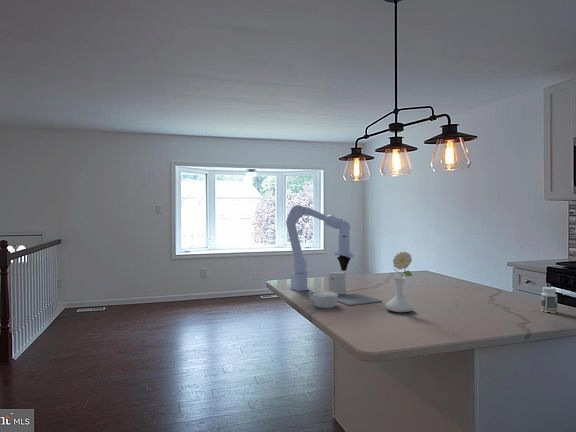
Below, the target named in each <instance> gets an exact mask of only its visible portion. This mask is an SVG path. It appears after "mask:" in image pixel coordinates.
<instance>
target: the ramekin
mask: <svg viewBox="0 0 576 432" xmlns="http://www.w3.org/2000/svg"><path fill="white" fill-rule="evenodd" d="M338 295H339V294H337V293H334V292H329V291H325V290H322V291H315V292H313V293H312V299H313V305H314V307H316V308H321V309H332V308H333V309H334V308H335V307H336V306H337V303H338V302H337V297H338Z"/></svg>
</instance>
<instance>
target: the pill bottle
mask: <svg viewBox="0 0 576 432" xmlns="http://www.w3.org/2000/svg"><path fill="white" fill-rule="evenodd" d="M556 292H557V289H556V287H551V286H543V287H542V292H541V295H540V310H541V312H543V311H544V312H543V313H546V312H551V313H550V314H557V313H558V295H557V293H556ZM556 312H557V313H556Z"/></svg>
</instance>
